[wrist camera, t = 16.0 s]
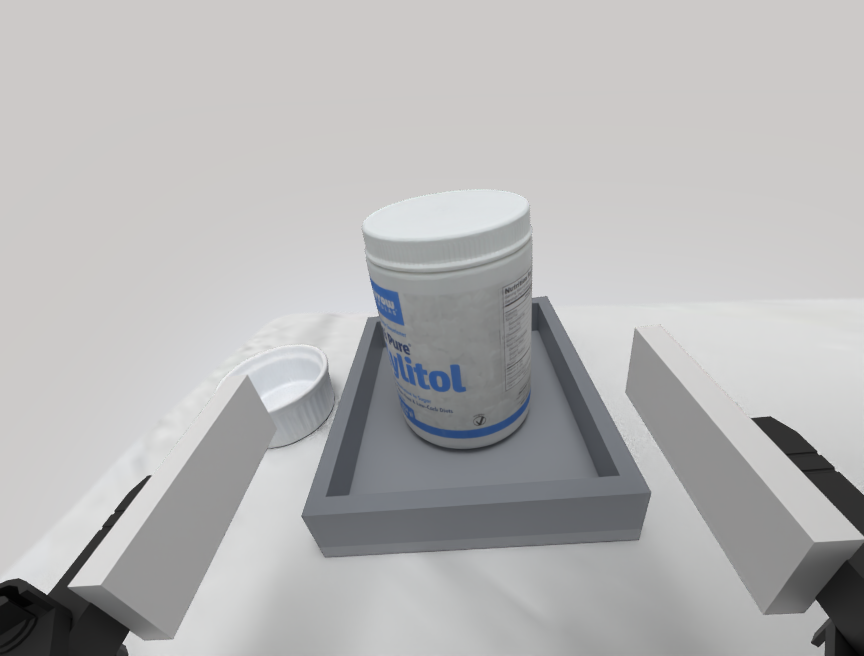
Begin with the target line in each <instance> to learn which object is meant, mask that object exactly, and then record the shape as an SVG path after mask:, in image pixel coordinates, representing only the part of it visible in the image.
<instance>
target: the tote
mask: <svg viewBox="0 0 864 656" xmlns="http://www.w3.org/2000/svg"><path fill="white" fill-rule="evenodd" d="M650 496H651V491H650V489H649V487H648V486H647V484H646V482H645V480H644V478H643V476H642V474H641V472H640V470H639V469H638V467H637V465H636V463H635V461H634V459H633V457H632V455H631V454H630V452H629V450H628V448H627V446H626V444H625V442H624V440H623V438H622V437H621V435H620V433H619V431H618V429H617V427H616V425H615V423H614V422H613V420H612V418H611V416H610V414H609V412H608V410H607V408H606V406H605V405H604V403H603V401H602V399H601V397H600V395H599V393H598V391H597V390H596V388H595V386H594V384H593V382H592V380H591V378H590V376H589V374H588V373H587V371H586V369H585V367H584V365H583V363H582V361H581V359H580V358H579V356H578V354H577V352H576V350H575V348H574V346H573V344H572V342H571V341H570V339H569V337H568V335H567V333H566V331H565V329H564V327H563V326H562V324H561V322H560V320H559V318H558V316H557V314H556V312H555V310H554V309H553V307H552V305H551V303H550V301H549V299H548V297H547V296H545V297H537V298H532V321H531V393H530V407H529V410H528V413H527V415H526V417H525V419H524V421H523V422H522V424H521V425H520V426H519V427H518V428H517V429H516V430H515V431H514V432H513V433H511V434H510V435H509V436H507V437H506V438H504V439H502V440H500V441H498V442H496V443H494V444H491V445H488V446H484V447H479V448H471V449H455V448H447V447H442V446H439V445H436V444H433V443H431V442H429V441H427V440H425V439H423V438H422V437H420V436H419V435H418V434H416V433H415V432H414V431H413V430H412V428H411V427H410V426H409V425H408V423H407V421H406V419H405V417H404V415H403V411H402V407H401V404H400V400H399V396H398V391H397V387H396V383H395V379H394V375H393V371H392V367H391V363H390V359H389V355H388V351H387V346H386V342H385V338H384V334H383V330H382V326H381V322H380V318H379V316H378V317H370V318H368V319H367V322H366V325H365V328H364V331H363V334H362V337H361V340H360V343H359V346H358V349H357V352H356V355H355V358H354V361H353V364H352V367H351V370H350V373H349V376H348V379H347V382H346V385H345V388H344V391H343V394H342V397H341V400H340V403H339V406H338V409H337V412H336V415H335V418H334V420H333V423H332V426H331V429H330V432H329V435H328V438H327V441H326V444H325V447H324V450H323V453H322V456H321V459H320V462H319V465H318V468H317V471H316V474H315V477H314V480H313V483H312V486H311V489H310V492H309V495H308V498H307V501H306V504H305V507H304V510H303V513H302V516H301V517H302V518H303V520H304V522H305V524H306V525H307V527H308V529H309V531H310V532H311V534H312V536H313V537H314V539H315V541H316V543H317V544H318V546H319V548H320V550H321V551H322V553H323V555H324V557H337V556H355V555H372V554H390V553H408V552H426V551H444V550H462V549H480V548H498V547H515V546H533V545H551V544H569V543H587V542H605V541H623V540H639V537H640V534H641V530H642V526H643V522H644V519H645V515H646V511H647V507H648V503H649V500H650Z"/></svg>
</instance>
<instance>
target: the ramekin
mask: <svg viewBox="0 0 864 656" xmlns="http://www.w3.org/2000/svg"><path fill="white" fill-rule="evenodd" d="M238 375H248V376H249V378H250V380H251V382H252V384H253V386H254V387H255V389H256V391H257V393H258V395H259V396H260V398H261V400H262V402H263V404H264V406H265V407H266V409H267V411H268V413H269V415H270V416H271V418H272V420H273V422H274V424H275V426H276V427H277V430H276V432H275V434H274V436H273V438H272V440H271V442H270V444H269V446H268V448H274V447H280V446H284V445H288V444H291V443H293V442H296V441H298V440H300V439H302V438H304V437H305V436H307V435H309V434H310V433H312V432H313V431H314V430H316V429H317V428H318V427H319V426H320V425H321V424H322V423H323V422H324V421H325V420H326V419H327V417H328V416H329V414H330V412H331V410H332V408H333V405H334V392H333V388H332V384H331V380H330V377H329V373H328V360H327V357H326V355H325V353H324V352H323V351H322V350H321V349H319V348H317V347H315V346H311V345H305V344H294V345H285V346H280V347H276V348H272V349H269V350H266V351H264V352H261V353H259V354H256V355H254V356H252V357H250V358H248V359H247V360H245V361H243V362H242V363H240V364H238V365H237V366H236V367H234V368H233V369H232V370H231V371H229V372H228V373H227V374H226V375H225V376H224V377H223V379H222V380H221V381H220V382H219V384H218V385H217V387H216V389H215V392H216V391H217V390H218V388H219V387H220V386H221V384H222V383H223V382H224V380H225V379H226V378H227V377H230V376H238ZM215 392H214V394H215Z"/></svg>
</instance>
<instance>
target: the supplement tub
mask: <svg viewBox="0 0 864 656" xmlns="http://www.w3.org/2000/svg"><path fill="white" fill-rule="evenodd" d="M362 232H363V237H364V241H365V245H366V246H365V254H366V262H367V266H368V271H369V275H370V280H371V285H372V288H373V293H374V297H375V300H376V305H377V309H378V313H379V318H380V322H381V326H382V330H383V334H384V338H385V342H386V346H387V351H388V355H389V359H390V363H391V367H392V371H393V375H394V379H395V383H396V387H397V391H398V396H399V400H400V404H401V407H402V411H403V415H404V417H405V419H406V421H407V423H408V425H409V426H410V427H411V428H412V430H413V431H414V432H415V433H416V434H418V435H419V436H420V437H422V438H423V439H425V440H427V441H429V442H431V443H433V444H436V445H439V446H442V447H447V448H455V449H471V448H479V447H484V446H488V445H491V444H494V443H496V442H498V441H500V440H502V439H504V438H506V437H507V436H509V435H510V434H511V433H513V432H514V431H515V430H516V429H517V428H518V427H519V426H520V425H521V424H522V422H523V421H524V419H525V417H526V415H527V413H528V410H529V407H530V393H531V321H532V226H531V224H530V205H529V202H528V201H527V200H526V199H525V198H524V197H522V196H521V195H519V194H516V193H512V192H508V191H501V190H481V189H477V190H459V191H449V192H441V193H435V194H429V195H424V196H419V197H415V198H411V199H407V200H403V201H400V202H397V203H394V204H391V205H389V206H386V207H384V208H381V209H379V210H377V211H376V212H374V213H372V214H371V215H370V216H368V217H367V218H366V219H365V221H364V222H363V225H362Z"/></svg>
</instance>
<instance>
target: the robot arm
mask: <svg viewBox="0 0 864 656" xmlns="http://www.w3.org/2000/svg"><path fill="white" fill-rule="evenodd" d="M625 393H626V394H627V396H628V398H629V399H630V401H631V402H632V404H633V406H634V407H635V409H636V410H637V412H638V414H639V415H640V417H641V419H642V420H643V422H644V423H645V425H646V427H647V428H648V430H649V431H650V433H651V435H652V436H653V438H654V440H655V441H656V443H657V444H658V446H659V448H660V449H661V451H662V452H663V454H664V456H665V457H666V459H667V461H668V462H669V464H670V465H671V467H672V469H673V470H674V472H675V473H676V475H677V477H678V478H679V480H680V481H681V483H682V485H683V486H684V488H685V490H686V491H687V493H688V494H689V496H690V498H691V499H692V501H693V502H694V504H695V506H696V507H697V509H698V511H699V512H700V514H701V515H702V517H703V519H704V520H705V522H706V523H707V525H708V527H709V528H710V530H711V531H712V533H713V535H714V536H715V538H716V540H717V541H718V543H719V544H720V546H721V548H722V549H723V551H724V552H725V554H726V556H727V557H728V559H729V561H730V562H731V564H732V565H733V567H734V569H735V570H736V572H737V573H738V575H739V577H740V578H741V580H742V582H743V583H744V585H745V586H746V588H747V590H748V591H749V593H750V594H751V596H752V598H753V599H754V601H755V602H756V604H757V606H758V607H759V609H760V611H761V612H762V614H763V615H769V614H794V613H805V612H806V610H807V609H808V608H809V607H810V606H811V604H812V603H813V602H814V601H815V600H817V601H818V603H819V604H820V605H821V607H822V608H823V609H824V611H825V612H826V613H827V615H828V616H829V617H830V618H829V619H828V620H827V621H826V622H825V623H824V624H823V625H822V626H821V627H820V628H819V629H818V630H817V632H816V633H815V634H814V636H813V639H812V641H811V643H812V644H814V645H815V646H817V647H819V646H820V645H821V644H822V643H823V642H824V641H825V656H864V495H863V494H862V493H861V492H860V491H859V490H858V489H857V488H856V487H855V486H854V485H852V484H851V483H850V482H849V481H848V480H847V479H846V478H845V477H844V476H843V475H842V474H841V473H840V472H836V471H835V469H834V467H833V466H832V465H831V464H830V463H829V462H828V461H827V460H826V459H825V458H824V457H823V456H822V455H818V453H817V450H815V449H814V448H813V447H812V446H811V445H810V444H809V443H808V442H807V441H806V440H805V439H804V438H803V437H802V436H801V435H800V434H799V433H797V432H796V431H794V430H793V429H791V428H789V427H788V426H786V425H784V424H782V423H781V422H779V421H777V420H776V419H774V418H772V417H771V416H770V417H759V418H750V417H749V416H748V415H747V414H746V413H745V412H744V411H743V410H742V409H741V408H740V407H739V406H738V405H737V404H736V403H735V402H734V401H733V400H732V398H731V397H730V396H729V395H728V394H727V393H726V392H725V391H724V390H723V389H722V388H721V387H720V386H719V385H718V384H717V383H716V382H715V381H714V380H713V379H712V378H711V377H710V376H709V374H708V373H707V372H706V371H705V370H704V369H703V368H702V367H701V366H700V365H699V364H698V363H697V362H696V361H695V360H694V359H693V358H692V357H691V356H690V355H689V354H688V353H687V352H686V350H685V349H684V348H683V347H682V346H681V345H680V344H679V343H678V342H677V341H676V340H675V339H674V338H673V337H672V336H671V335H670V334H669V333H668V332H667V331H666V330H665V329H664V328H663V326H662V325H661V324H659V325H651V326H643V327H635V331H634V338H633V344H632V351H631V358H630V364H629V371H628V378H627V385H626V391H625ZM276 430H277V427H276V426H275V424H274V422H273V420H272V418H271V416H270V415H269V413H268V411H267V409H266V407H265V406H264V404H263V402H262V400H261V398H260V396H259V395H258V393H257V391H256V389H255V387H254V386H253V384H252V382H251V380H250V378H249V376H248V375H238V376H230V377H227V378H226V379H225V380H224V382H223V383H222V384H221V386H220V387H219V388H218V390H217V391H216V392H215V394H214V395H213V396H212V398H211V399H210V400H209V401H208V403H207V404H206V405H205V407H204V408H203V409H202V411H201V412H200V413H199V415H198V416H197V417H196V419H195V420H194V421H193V422H192V424H191V425H190V426H189V428H188V429H187V430H186V432H185V433H184V434H183V436H182V437H181V438H180V439H179V441H178V442H177V443H176V445H175V446H174V447H173V449H172V450H171V451H170V453H169V454H168V455H167V457H166V458H165V459H164V460H163V462H162V463H161V464H160V466H159V467H158V468H157V470H156V471H155V472H154V474H153V475H149V476H147V477H146V478H145V479H144V480H142V481H141V482H140V483H139V484H138V485H137V486H136V487H134V488H133V489H132V490H131V491H130V492H129V493H128V494H127V495H126V497H125V498H124V499H123V501H122V502H121V503H120V504H119V506H118V507H117V508H116V509H115V513H114V514H112V515H111V516H110V517H109V518H108V520H107V521H106V522H105V523H104V525H103V526H102V527H103V528H102V530H99V531H98V532H97V534H96V535H95V536H94V537H93V539H92V540H91V541H90V542H89V544H88V545H87V546H86V547H85V549H84V550H83V551H82V553H81V554H80V555H79V556H78V558H77V559H76V560H75V561H74V563H73V564H72V565H71V567H70V568H69V569H68V570H67V572H66V573H65V574H64V575H63V577H62V578H61V579H60V580H59V582H58V583H57V584H56V586H55V587H54V588H53V589H52V590H51V592H50V593H49V594H48V595H46V594H45V593H43V592H42V591H40V590H38V589H37V588H35V587H34V586H32V585H31V584H29V583H28V582H26V581H24V580H22V579H19V578H18V579H12V580H7V581H5V582H3V583H1V584H0V656H128V652H127V649H126V646H125V645H123V644H122V643H123V641H124V639H125V638H126V636H127V634H128V633H129V631H131V632H133V633H134V634H136V635H137V636H138V637H140V638H141V639H143V640H169V639H174V636H175V634H176V632H177V630H178V628H179V626H180V624H181V622H182V620H183V618H184V616H185V614H186V612H187V610H188V608H189V606H190V604H191V602H192V600H193V598H194V596H195V594H196V592H197V590H198V588H199V586H200V584H201V582H202V580H203V578H204V576H205V574H206V572H207V570H208V568H209V566H210V564H211V562H212V560H213V557H214V555H215V553H216V551H217V549H218V547H219V545H220V543H221V541H222V539H223V537H224V535H225V533H226V531H227V529H228V527H229V525H230V523H231V521H232V519H233V517H234V515H235V513H236V511H237V509H238V507H239V505H240V503H241V501H242V499H243V497H244V495H245V493H246V491H247V489H248V487H249V485H250V483H251V481H252V479H253V476H254V474H255V472H256V470H257V468H258V466H259V464H260V462H261V460H262V458H263V456H264V454H265V452H266V450H267V448H268V446H269V444H270V442H271V440H272V438H273V436H274V434H275V432H276Z"/></svg>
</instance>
